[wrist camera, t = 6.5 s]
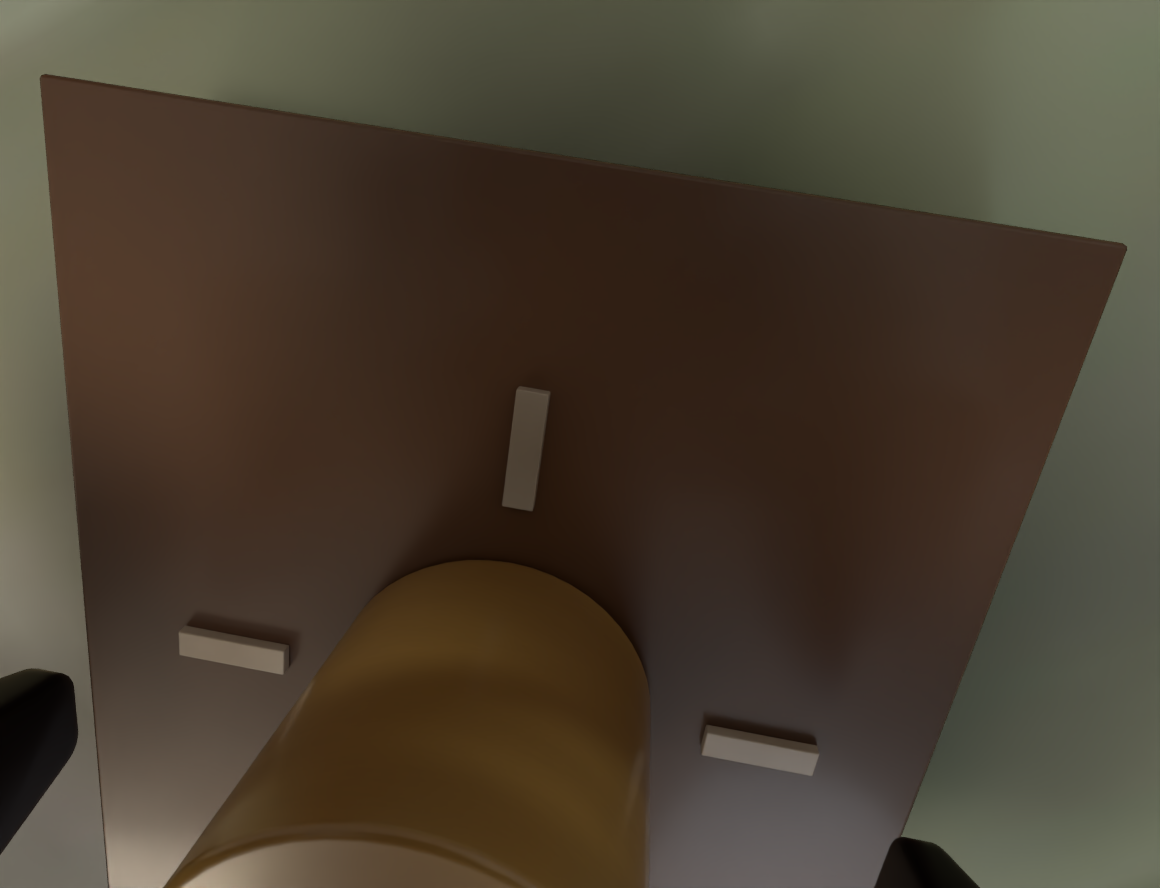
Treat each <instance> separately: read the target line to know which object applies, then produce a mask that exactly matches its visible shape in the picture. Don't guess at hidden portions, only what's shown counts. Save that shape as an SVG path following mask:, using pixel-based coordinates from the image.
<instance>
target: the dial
mask: <svg viewBox="0 0 1160 888" xmlns="http://www.w3.org/2000/svg"><path fill="white" fill-rule="evenodd" d="M650 739H651V707H650V693H649V688H648V682H647V678H646V675H645V672H644V669H643V666H642V663H641V661H640V659H639V657H638V655H637V653H636V651H635V649H634V647H633V645H632V643H631V642H630V640H629V639H628V637H627V636H626V635H625V633H624V632H623V630H622V629H621V627H620V626H619V625H618V624H617V623H616V622H615V621H614V620H613V618H612V617H611V616H610V615H609V614H608V613H607V612H606V611H605V610H604V609H603V608H602V607H601V606H599V605H598V604H597V603H596V602H595V601H594V600H592V599H591V598H590V597H589V596H587V595H586V594H584V593H583V592H581V591H580V590H578V589H577V588H575V587H574V586H572V585H571V584H569V583H567V582H565V581H563V580H561V579H559V578H557V577H555V576H553V575H550V574H548V573H545V572H542V571H539V570H537V569H534V568H531V567H527V566H523V565H519V564H514V563H510V562H502V561H494V560H463V561H455V562H447V563H443V564H439V565H435V566H431V567H427V568H423V569H421V570H419V571H416V572H414V573H411V574H409V575H406V576H404V577H402V578H401V579H399V580H397V581H395V582H394V583H392V584H390V585H389V586H387V587H386V588H385V589H383V590H382V591H381V592H380V593H378V594H377V595H376V596H375V597H373V599H372V600H371V601H370V602H369V603H368V604H367V605H366V606H365V607H364V608H363V609H362V610H361V612H360V613H359V614H358V616H357V617H356V619H355V620H354V621H353V623H352V624H351V626H350V627H349V628H348V630H347V631H346V633H345V634H344V635H343V637H342V638H341V640H340V641H339V642H338V644H337V645H336V647H335V648H334V649H333V651H332V652H331V654H330V655H329V656H328V658H327V659H326V661H325V662H324V663H323V665H322V666H321V668H320V669H319V670H318V672H317V673H316V675H315V676H314V677H313V679H312V680H311V682H310V683H309V684H308V686H307V687H306V689H305V690H304V691H303V693H302V694H301V696H300V697H299V698H298V700H297V701H296V703H295V704H294V705H293V707H292V708H291V710H290V711H289V712H288V714H287V715H286V717H285V718H284V719H283V721H282V722H281V724H280V725H279V726H278V728H277V729H276V731H275V732H274V733H273V735H272V736H271V737H270V739H269V740H268V742H267V743H266V744H265V746H264V747H263V749H262V750H261V751H260V753H259V754H258V756H257V757H256V758H255V760H254V761H253V763H252V764H251V765H250V767H249V768H248V770H247V771H246V772H245V774H244V775H243V777H242V778H241V779H240V781H239V782H238V784H237V785H236V786H235V788H234V789H233V791H232V792H231V793H230V795H229V796H228V798H227V799H226V800H225V802H224V803H223V805H222V806H221V807H220V809H219V810H218V812H217V813H216V814H215V816H214V817H213V819H212V820H211V821H210V823H209V824H208V826H207V827H206V828H205V830H204V831H203V833H202V834H201V835H200V837H199V838H198V840H197V841H196V842H195V844H194V845H193V847H192V848H191V849H190V851H189V852H188V854H187V855H186V856H185V858H184V859H183V861H182V862H181V863H180V865H179V866H178V868H177V869H176V870H175V872H174V873H173V874H172V876H171V877H170V879H169V880H168V881H167V883H166V884H165V886H164V887H163V888H649V865H650Z"/></svg>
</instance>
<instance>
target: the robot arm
mask: <svg viewBox="0 0 1160 888" xmlns="http://www.w3.org/2000/svg"><path fill="white" fill-rule="evenodd" d="M77 738H78V725H77V714H76V704H75V693H74V685H73V682H72V680H71V679H70V677H69V676H67V675H65V674H63V673H58V672H52V671H47V670H42V669H32V668H31V669H26V670H22V671H19V672H17V673H14V674H11V675H8V676H5V677H3V678H0V855H1V853H2V852H3V850H4V849H5V848H6V846H7V845H8V843H9V842H10V841H11V839H12V838H13V836H14V835H15V834H16V832H17V831H18V830H19V828H20V827H21V825H22V824H23V823H24V821H25V820H26V818H27V817H28V816H29V814H30V813H31V811H32V810H33V809H34V807H35V806H36V804H37V803H38V802H39V800H40V799H41V798H42V796H43V795H44V793H45V792H46V791H47V789H48V788H49V786H50V785H51V784H52V782H53V781H54V779H55V778H56V777H57V775H58V774H59V773H60V771H61V770H62V768H63V767H64V766H65V764H66V763H67V761H68V760H69V758H70V757H71V755H72V753H73V751H74V749H75V746H76V743H77ZM874 888H980V887H979V886H978V885H977V884H976V883H975V882H974V881H973V880H972V879H971V878H970V877H969V876H968V875H967V874H966V873H965V872H964V871H963V870H962V869H961V868H960V867H959V865H958V864H957V863H956V862H955V861H954V860H953V859H952V858H951V857H950V856H949V855H948V854H947V853H946V852H945V851H944V850H943V849H942V848H941V847H939V846H938V845H936V844H934V843H931V842H927V841H921V840H916V839H911V838H906V837H898V838H896V839H895V840H894V841H893V842H892V843H891V845H890V847H889V850H888V852H887V855H886V857H885V860H884V863H883V865H882V868H881V870H880V873H879V876H878V878H877V881H876V884H875V886H874Z"/></svg>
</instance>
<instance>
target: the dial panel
mask: <svg viewBox="0 0 1160 888" xmlns="http://www.w3.org/2000/svg"><path fill="white" fill-rule="evenodd" d="M40 86H41V98H42V110H43V121H44V133H45V145H46V157H47V169H48V180H49V192H50V204H51V216H52V228H53V240H54V251H55V263H56V275H57V287H58V299H59V310H60V322H61V334H62V346H63V358H64V370H65V381H66V393H67V405H68V417H69V429H70V440H71V452H72V464H73V476H74V488H75V499H76V511H77V523H78V535H79V547H80V559H81V570H82V582H83V594H84V606H85V618H86V629H87V641H88V653H89V665H90V677H91V689H92V700H93V712H94V724H95V736H96V748H97V759H98V771H99V783H100V795H101V807H102V819H103V830H104V842H105V854H106V866H107V878H108V888H163V887H164V886H165V884H166V883H167V881H168V880H169V879H170V877H171V876H172V874H173V873H174V872H175V870H176V869H177V868H178V866H179V865H180V863H181V862H182V861H183V859H184V858H185V856H186V855H187V854H188V852H189V851H190V849H191V848H192V847H193V845H194V844H195V842H196V841H197V840H198V838H199V837H200V835H201V834H202V833H203V831H204V830H205V828H206V827H207V826H208V824H209V823H210V821H211V820H212V819H213V817H214V816H215V814H216V813H217V812H218V810H219V809H220V807H221V806H222V805H223V803H224V802H225V800H226V799H227V798H228V796H229V795H230V793H231V792H232V791H233V789H234V788H235V786H236V785H237V784H238V782H239V781H240V779H241V778H242V777H243V775H244V774H245V772H246V771H247V770H248V768H249V767H250V765H251V764H252V763H253V761H254V760H255V758H256V757H257V756H258V754H259V753H260V751H261V750H262V749H263V747H264V746H265V744H266V743H267V742H268V740H269V739H270V737H271V736H272V735H273V733H274V732H275V731H276V729H277V728H278V726H279V725H280V724H281V722H282V721H283V719H284V718H285V717H286V715H287V714H288V712H289V711H290V710H291V708H292V707H293V705H294V704H295V703H296V701H297V700H298V698H299V697H300V696H301V694H302V693H303V691H304V690H305V689H306V687H307V686H308V684H309V683H310V682H311V680H312V679H313V677H314V676H315V675H316V673H317V672H318V670H319V669H320V668H321V666H322V665H323V663H324V662H325V661H326V659H327V658H328V656H329V655H330V654H331V652H332V651H333V649H334V648H335V647H336V645H337V644H338V642H339V641H340V640H341V638H342V637H343V635H344V634H345V633H346V631H347V630H348V628H349V627H350V626H351V624H352V623H353V621H354V620H355V619H356V617H357V616H358V614H359V613H360V612H361V610H362V609H363V608H364V607H365V606H366V605H367V604H368V603H369V602H370V601H371V600H372V599H373V597H375V596H376V595H377V594H378V593H380V592H381V591H382V590H383V589H385V588H386V587H387V586H389V585H390V584H392V583H394V582H395V581H397V580H399V579H401V578H402V577H404V576H406V575H409V574H411V573H414V572H416V571H419V570H421V569H423V568H427V567H431V566H435V565H439V564H443V563H447V562H455V561H463V560H494V561H502V562H510V563H514V564H519V565H523V566H527V567H531V568H534V569H537V570H539V571H542V572H545V573H548V574H550V575H553V576H555V577H557V578H559V579H561V580H563V581H565V582H567V583H569V584H571V585H572V586H574V587H575V588H577V589H578V590H580V591H581V592H583V593H584V594H586V595H587V596H589V597H590V598H591V599H592V600H594V601H595V602H596V603H597V604H598V605H599V606H601V607H602V608H603V609H604V610H605V611H606V612H607V613H608V614H609V615H610V616H611V617H612V618H613V620H614V621H615V622H616V623H617V624H618V625H619V626H620V627H621V629H622V630H623V632H624V633H625V635H626V636H627V637H628V639H629V640H630V642H631V643H632V645H633V647H634V649H635V651H636V653H637V655H638V657H639V659H640V661H641V663H642V666H643V669H644V672H645V675H646V678H647V682H648V688H649V693H650V707H651V739H650V865H649V888H874V886H875V884H876V881H877V878H878V876H879V873H880V870H881V868H882V865H883V863H884V860H885V857H886V855H887V852H888V850H889V847H890V845H891V843H892V842H893V841H894V840H895V839H896V838H898V837H901V835H902V833H903V830H904V827H905V825H906V822H907V820H908V817H909V814H910V812H911V809H912V807H913V804H914V801H915V799H916V796H917V794H918V791H919V789H920V786H921V783H922V781H923V778H924V776H925V773H926V770H927V768H928V765H929V763H930V760H931V757H932V755H933V752H934V750H935V747H936V744H937V742H938V739H939V737H940V734H941V731H942V729H943V726H944V724H945V721H946V718H947V716H948V713H949V711H950V708H951V705H952V703H953V700H954V698H955V695H956V692H957V690H958V687H959V685H960V682H961V679H962V677H963V674H964V672H965V669H966V666H967V664H968V661H969V659H970V656H971V653H972V651H973V648H974V646H975V643H976V640H977V638H978V635H979V633H980V630H981V627H982V625H983V622H984V620H985V617H986V614H987V612H988V609H989V607H990V604H991V601H992V599H993V596H994V594H995V591H996V588H997V586H998V583H999V581H1000V578H1001V575H1002V573H1003V570H1004V568H1005V565H1006V562H1007V560H1008V557H1009V555H1010V552H1011V549H1012V547H1013V544H1014V542H1015V539H1016V536H1017V534H1018V531H1019V529H1020V526H1021V524H1022V521H1023V518H1024V516H1025V513H1026V511H1027V508H1028V505H1029V503H1030V500H1031V498H1032V495H1033V492H1034V490H1035V487H1036V485H1037V482H1038V479H1039V477H1040V474H1041V472H1042V469H1043V466H1044V464H1045V461H1046V459H1047V456H1048V453H1049V451H1050V448H1051V446H1052V443H1053V440H1054V438H1055V435H1056V433H1057V430H1058V427H1059V425H1060V422H1061V420H1062V417H1063V414H1064V412H1065V409H1066V407H1067V404H1068V401H1069V399H1070V396H1071V394H1072V391H1073V388H1074V386H1075V383H1076V381H1077V378H1078V375H1079V373H1080V370H1081V368H1082V365H1083V362H1084V360H1085V357H1086V355H1087V352H1088V349H1089V347H1090V344H1091V342H1092V339H1093V336H1094V334H1095V331H1096V329H1097V326H1098V323H1099V321H1100V318H1101V316H1102V313H1103V310H1104V308H1105V305H1106V303H1107V300H1108V297H1109V295H1110V292H1111V290H1112V287H1113V284H1114V282H1115V279H1116V277H1117V274H1118V272H1119V269H1120V266H1121V264H1122V261H1123V259H1124V256H1125V253H1126V251H1127V246H1126V245H1124V244H1123V243H1118V242H1111V241H1105V240H1098V239H1092V238H1086V237H1079V236H1073V235H1067V234H1060V233H1054V232H1048V231H1041V230H1035V229H1029V228H1022V227H1016V226H1009V225H1003V224H997V223H990V222H984V221H978V220H971V219H965V218H959V217H952V216H946V215H939V214H933V213H927V212H920V211H914V210H908V209H901V208H895V207H889V206H882V205H876V204H869V203H863V202H857V201H850V200H844V199H838V198H831V197H825V196H819V195H812V194H806V193H799V192H793V191H787V190H780V189H774V188H768V187H761V186H755V185H749V184H742V183H736V182H729V181H723V180H717V179H710V178H704V177H698V176H691V175H685V174H679V173H672V172H666V171H660V170H653V169H647V168H640V167H634V166H628V165H621V164H615V163H609V162H602V161H596V160H590V159H583V158H577V157H570V156H564V155H558V154H551V153H545V152H539V151H532V150H526V149H520V148H513V147H507V146H500V145H494V144H488V143H481V142H475V141H469V140H462V139H456V138H450V137H443V136H437V135H430V134H424V133H418V132H411V131H405V130H399V129H392V128H386V127H380V126H373V125H367V124H360V123H354V122H348V121H341V120H335V119H329V118H322V117H316V116H310V115H303V114H297V113H291V112H284V111H278V110H271V109H265V108H259V107H252V106H246V105H240V104H233V103H227V102H221V101H214V100H208V99H201V98H195V97H189V96H182V95H176V94H170V93H163V92H157V91H151V90H144V89H138V88H131V87H125V86H119V85H112V84H106V83H100V82H93V81H87V80H81V79H74V78H68V77H61V76H55V75H49V74H44V75H41V77H40Z"/></svg>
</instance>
